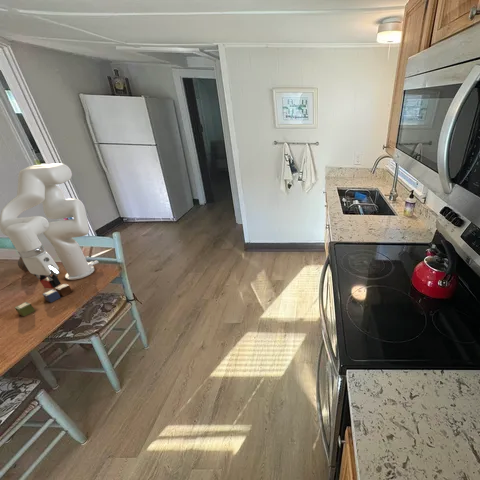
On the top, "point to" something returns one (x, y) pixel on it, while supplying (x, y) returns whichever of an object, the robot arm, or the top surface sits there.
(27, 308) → the olive letter block
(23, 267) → the brown kiwi fruit
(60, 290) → the walnut letter block
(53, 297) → the slate-blue letter block
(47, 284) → the red letter block
